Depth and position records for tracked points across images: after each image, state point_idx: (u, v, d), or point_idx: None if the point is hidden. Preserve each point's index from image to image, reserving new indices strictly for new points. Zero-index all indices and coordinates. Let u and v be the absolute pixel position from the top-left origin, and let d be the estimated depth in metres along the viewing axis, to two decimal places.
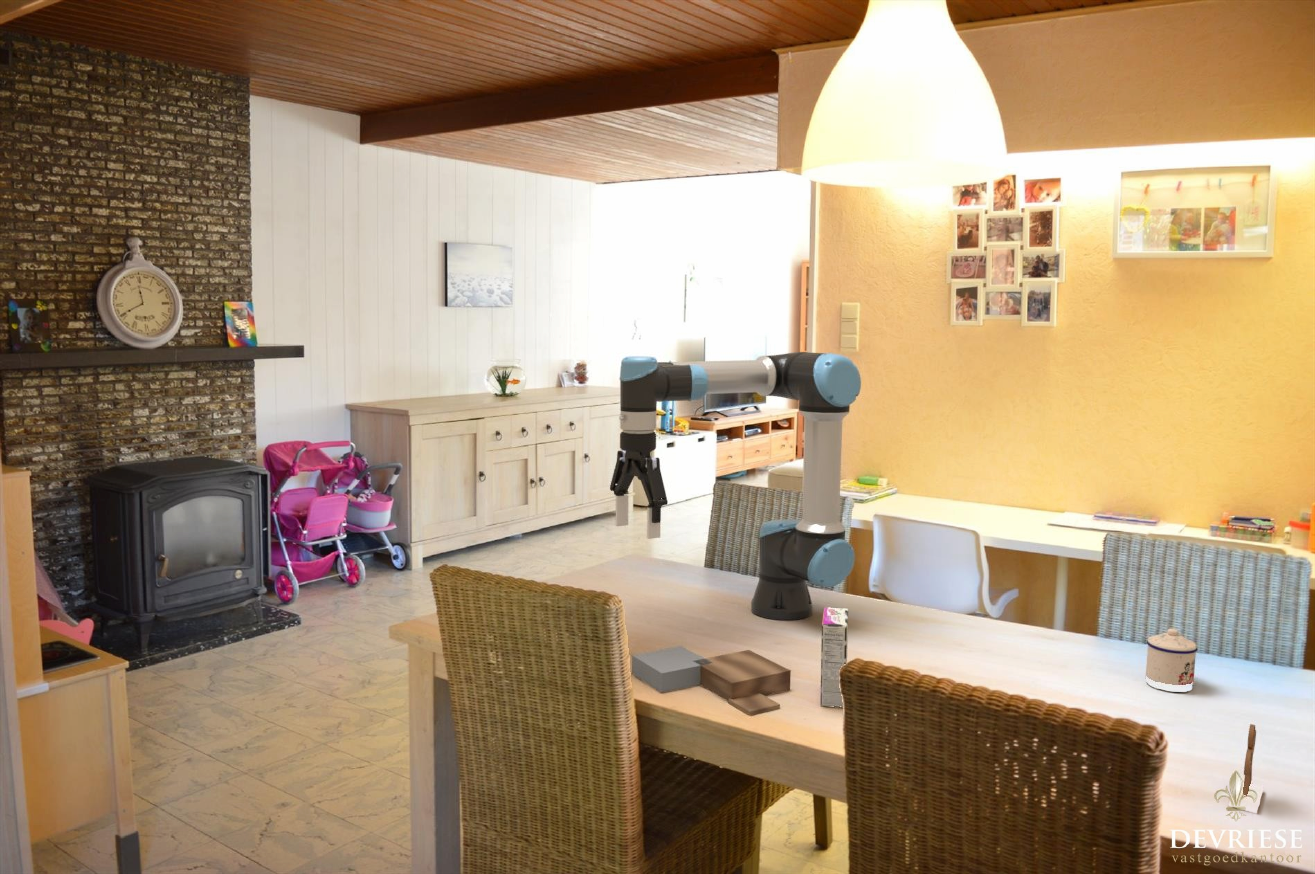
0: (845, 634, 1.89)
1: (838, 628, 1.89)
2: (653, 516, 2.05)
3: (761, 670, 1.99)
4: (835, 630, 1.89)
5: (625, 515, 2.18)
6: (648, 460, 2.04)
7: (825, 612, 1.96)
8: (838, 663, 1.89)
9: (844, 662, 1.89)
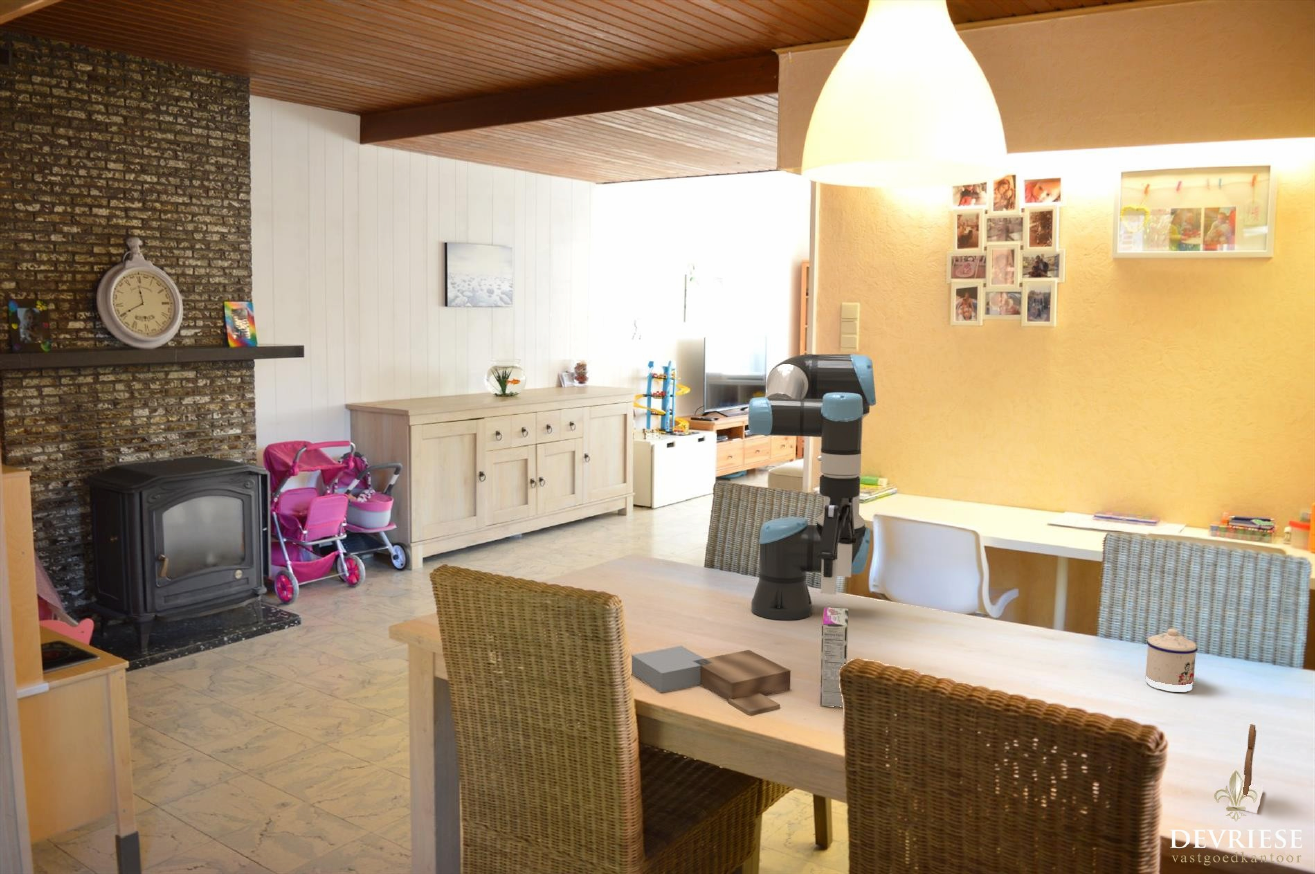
0: (845, 634, 1.89)
1: (838, 628, 1.89)
2: None
3: (761, 670, 1.99)
4: (835, 630, 1.89)
5: (847, 566, 1.99)
6: (825, 507, 1.86)
7: (825, 612, 1.96)
8: (838, 663, 1.89)
9: (844, 662, 1.89)
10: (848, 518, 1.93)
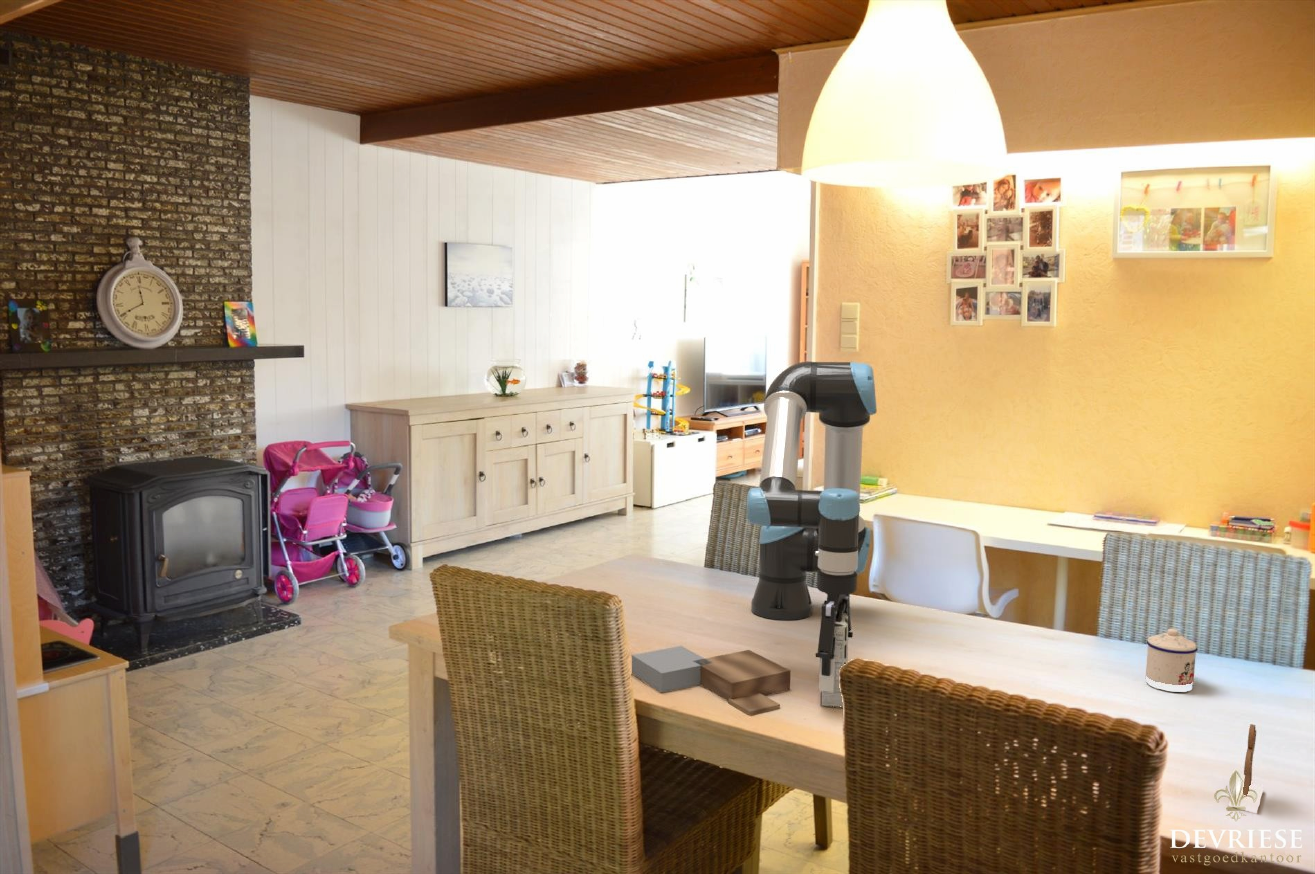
0: (845, 634, 1.88)
1: (838, 628, 1.89)
2: None
3: (761, 670, 1.99)
4: (835, 630, 1.89)
5: None
6: (822, 606, 1.88)
7: None
8: (838, 663, 1.89)
9: (844, 662, 1.89)
10: (845, 612, 1.96)
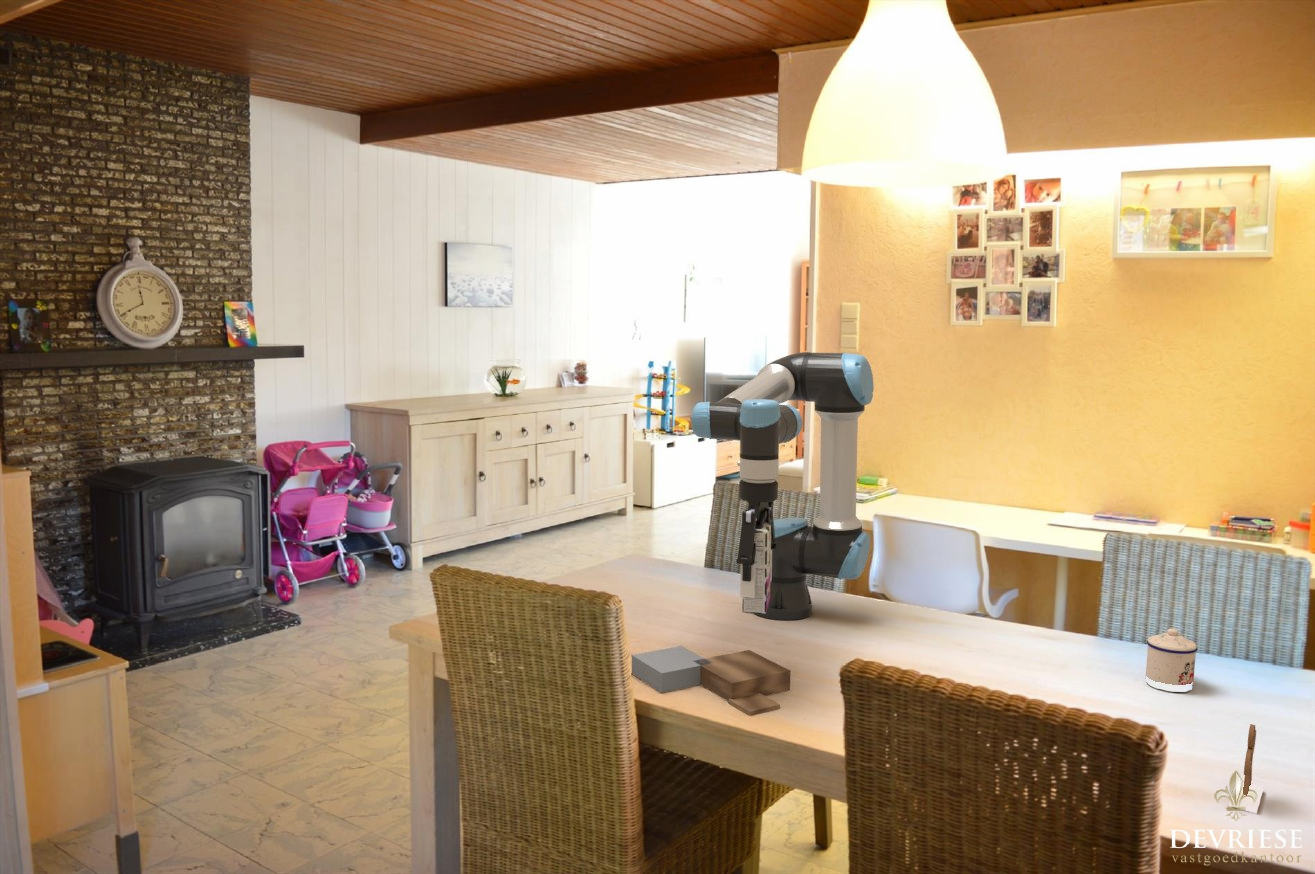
0: (765, 540, 1.91)
1: (758, 534, 1.92)
2: None
3: (761, 670, 1.99)
4: (756, 536, 1.92)
5: None
6: (742, 513, 1.91)
7: None
8: (759, 569, 1.92)
9: (765, 568, 1.92)
10: (767, 522, 1.99)
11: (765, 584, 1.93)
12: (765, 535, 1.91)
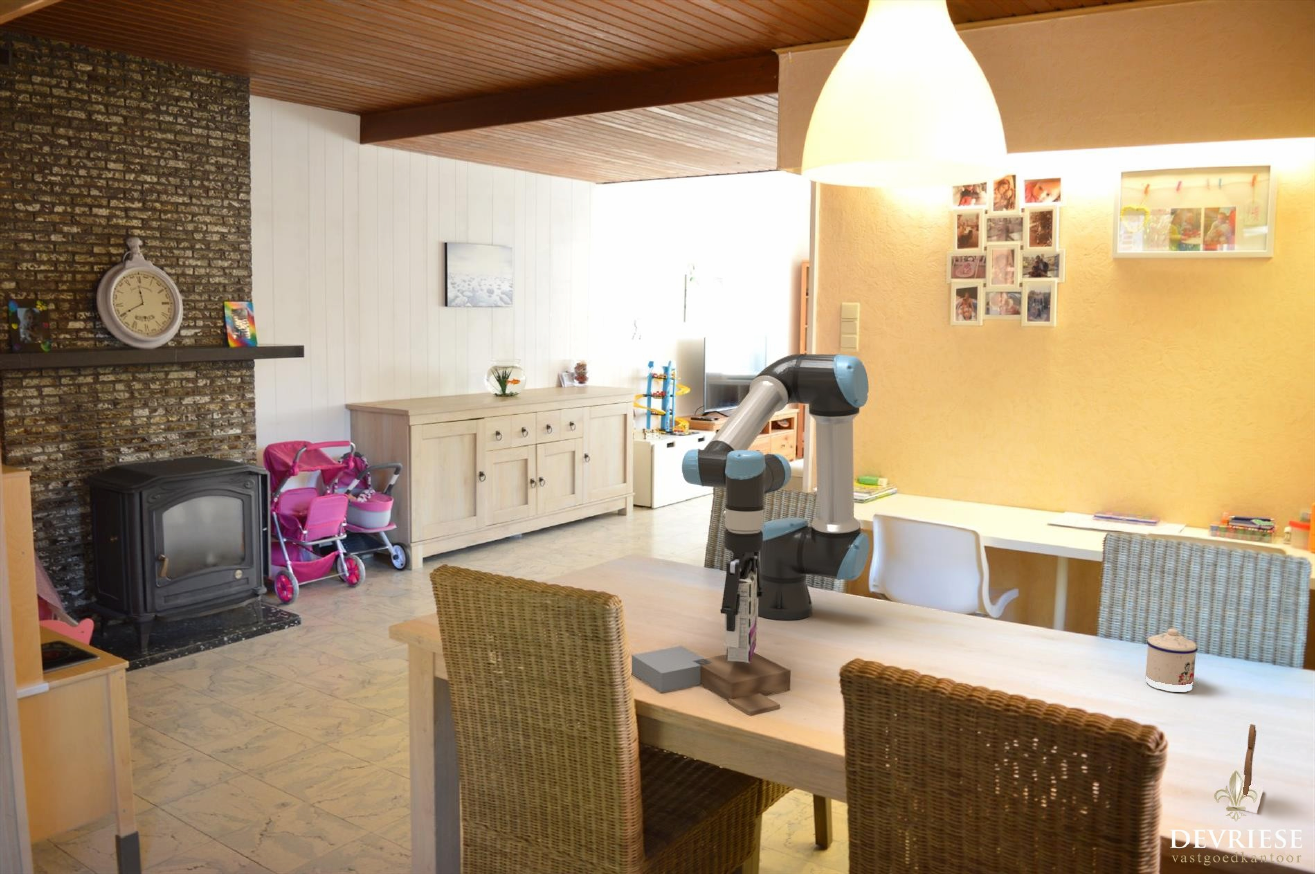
0: (749, 590, 1.94)
1: (742, 584, 1.94)
2: None
3: (761, 670, 1.99)
4: (740, 586, 1.94)
5: None
6: None
7: None
8: (743, 619, 1.94)
9: (749, 618, 1.94)
10: (753, 571, 2.01)
11: (749, 634, 1.95)
12: (749, 585, 1.93)
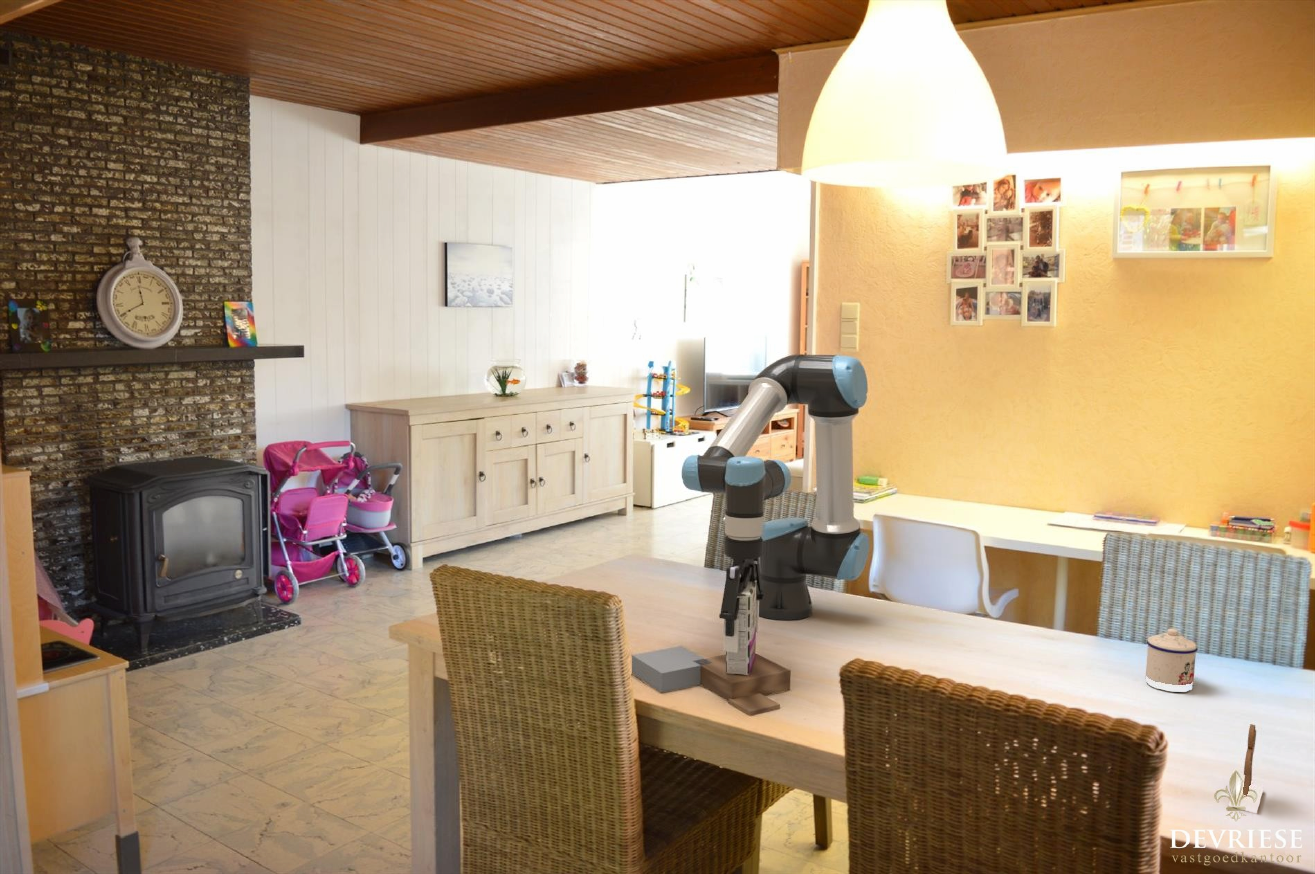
0: (748, 603, 1.94)
1: (741, 597, 1.94)
2: None
3: (761, 670, 1.99)
4: None
5: None
6: (726, 569, 1.93)
7: None
8: (742, 632, 1.95)
9: (748, 631, 1.94)
10: (753, 577, 2.01)
11: (748, 646, 1.95)
12: (748, 598, 1.93)
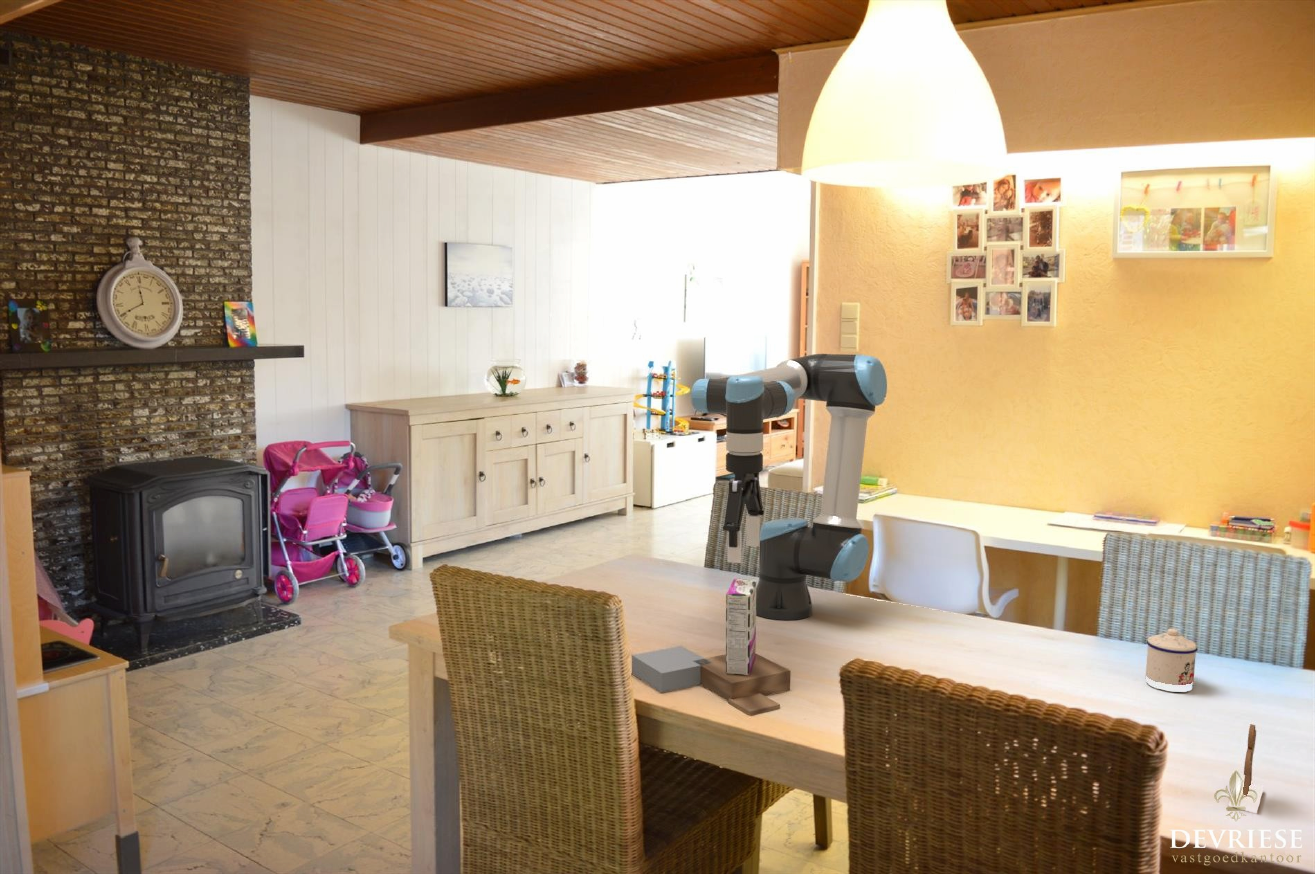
0: (748, 603, 1.94)
1: (741, 597, 1.94)
2: None
3: (761, 670, 1.99)
4: (739, 599, 1.94)
5: (755, 536, 2.14)
6: (729, 482, 2.01)
7: (733, 583, 2.01)
8: (742, 632, 1.95)
9: (748, 631, 1.94)
10: (754, 492, 2.08)
11: (748, 646, 1.95)
12: (748, 598, 1.93)
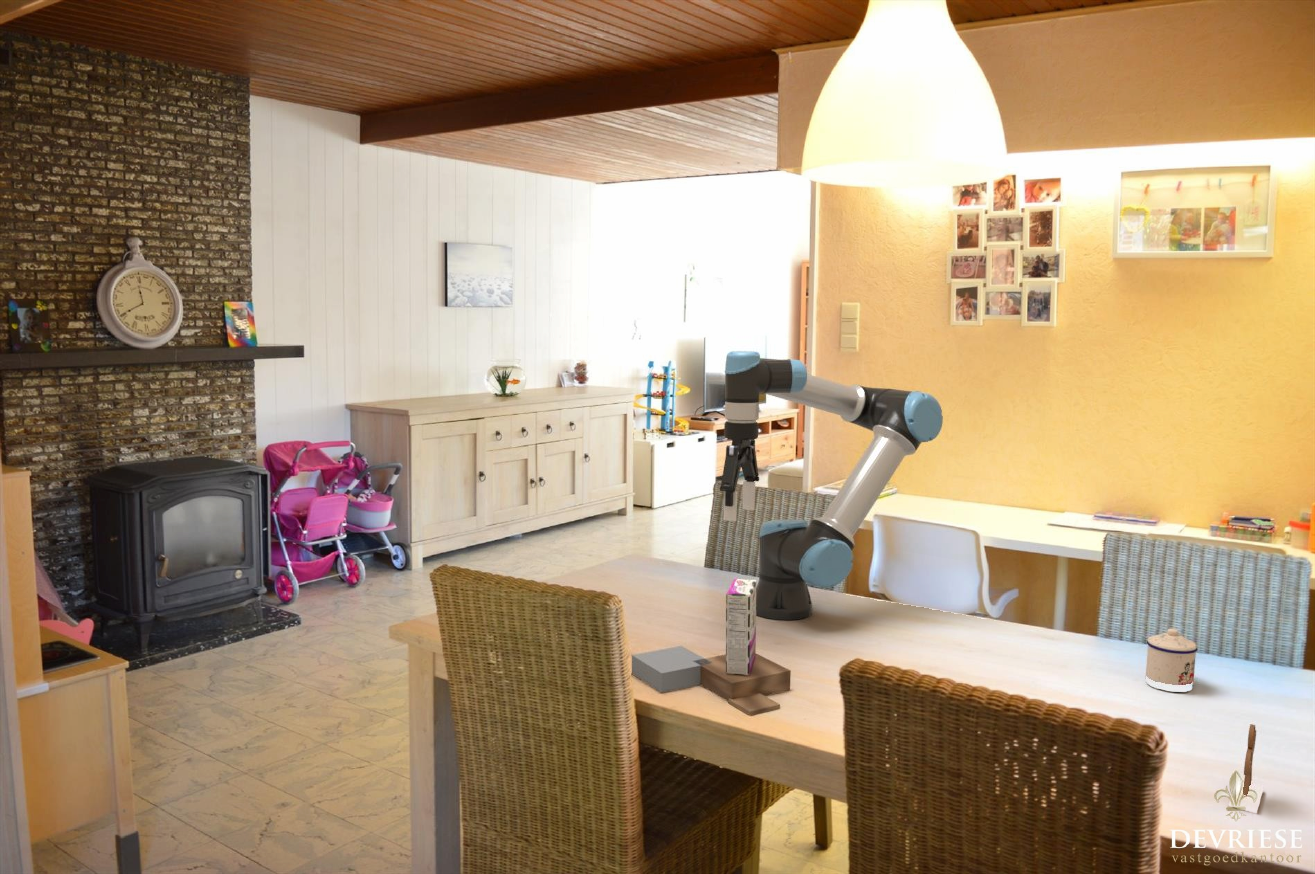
0: (748, 603, 1.94)
1: (741, 597, 1.94)
2: None
3: (761, 670, 1.99)
4: (739, 599, 1.94)
5: (751, 500, 2.32)
6: (726, 447, 2.19)
7: (733, 583, 2.01)
8: (742, 632, 1.95)
9: (748, 631, 1.94)
10: (749, 458, 2.27)
11: (748, 646, 1.95)
12: (748, 598, 1.93)
